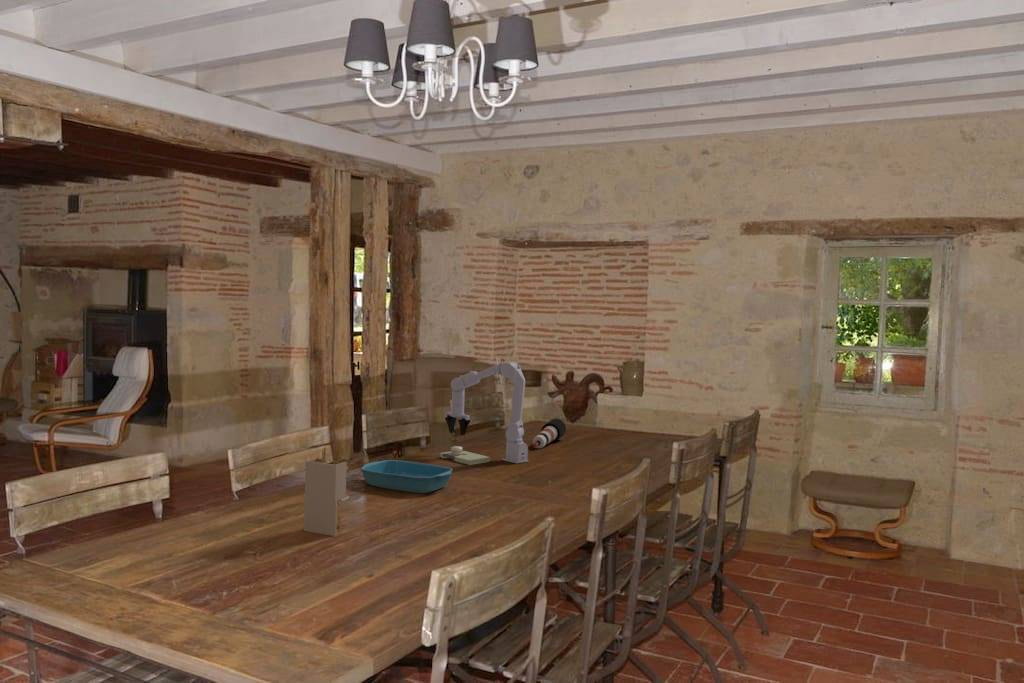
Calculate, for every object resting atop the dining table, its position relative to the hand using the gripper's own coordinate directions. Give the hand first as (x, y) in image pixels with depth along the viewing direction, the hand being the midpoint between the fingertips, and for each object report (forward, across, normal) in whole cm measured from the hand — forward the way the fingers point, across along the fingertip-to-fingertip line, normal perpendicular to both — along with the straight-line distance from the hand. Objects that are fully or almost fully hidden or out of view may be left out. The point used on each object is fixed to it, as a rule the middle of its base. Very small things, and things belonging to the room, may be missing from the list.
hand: (457, 433), depth 367 cm
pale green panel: (+10, +9, -3) cm, 14 cm away
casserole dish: (+10, +32, -53) cm, 63 cm away
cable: (+10, +5, +55) cm, 56 cm away
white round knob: (+10, +5, -4) cm, 12 cm away
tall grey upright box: (+10, +64, -109) cm, 127 cm away
